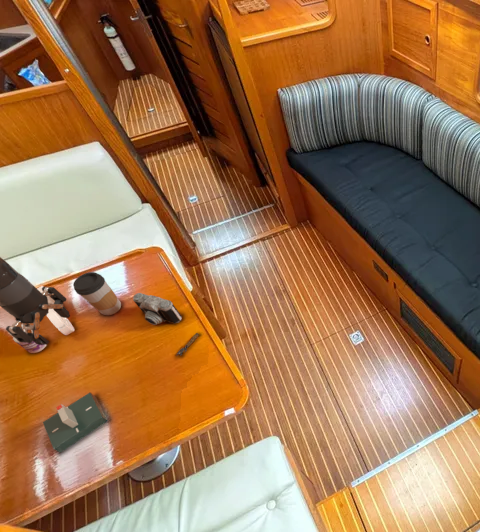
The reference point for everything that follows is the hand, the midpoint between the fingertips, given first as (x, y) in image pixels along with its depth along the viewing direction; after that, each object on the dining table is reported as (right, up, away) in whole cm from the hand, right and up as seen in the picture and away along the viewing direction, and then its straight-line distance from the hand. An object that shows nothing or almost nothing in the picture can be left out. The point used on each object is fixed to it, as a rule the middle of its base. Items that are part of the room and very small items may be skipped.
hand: (56, 329), depth 107 cm
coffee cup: (-6, +3, +30) cm, 30 cm away
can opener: (+26, -8, +20) cm, 33 cm away
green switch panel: (+4, -27, +3) cm, 27 cm away
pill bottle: (-22, -9, +20) cm, 31 cm away
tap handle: (+4, -25, +1) cm, 25 cm away
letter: (-20, -1, +27) cm, 34 cm away
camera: (+12, -1, +27) cm, 29 cm away
